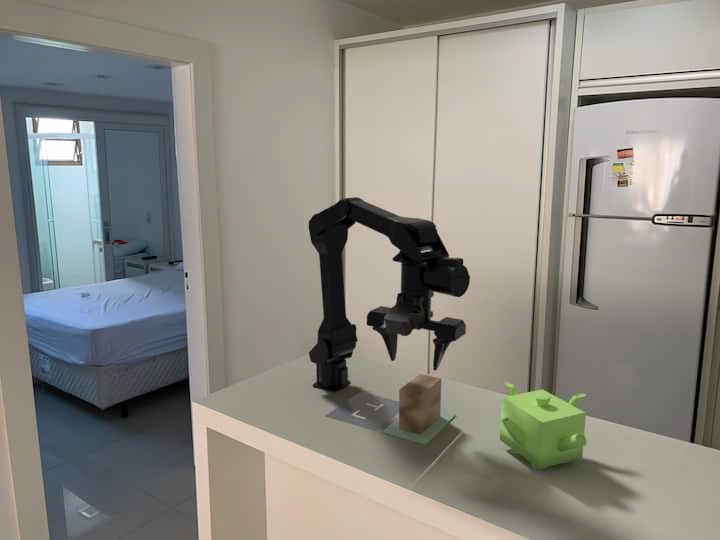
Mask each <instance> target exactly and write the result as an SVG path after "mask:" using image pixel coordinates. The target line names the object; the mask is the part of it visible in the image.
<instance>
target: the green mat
mask: <svg viewBox="0 0 720 540" xmlns="http://www.w3.org/2000/svg"><path fill="white" fill-rule="evenodd" d="M456 415H457V414H456V413H453V412H449V411H445V410H441V411H440V417H439V418H438V419H437V420H436V421H435V422H434V423H433V424H432V425H431V426H430V427H429V428H427V429H426V430H425V431H424V432H423V433H422V434H421V435H420V434H416V433H413V432H409V431H405V430H402V429H399V417H398V418H397V419H396V420H395V421H394V422H392V423H390V425H388V426H387V427H386V428H385V429H384V430H382V434H385V435H388V436H392V437H396V438H398V439H399V438H400V439H403V440H406V441H410V442H412V443H413V442H414V443H416V444H420V445H423V446H426V445H428V444H429V443H430V442H431V441H432V440H433V439H434V438H435V437H436V436H437V435H438V434H439V433H440V432H441V431H442V430H443V429H444V428H445V427H446V426H447V425H448V424H449V423H450V422H451V421H452V420H453V419H454V418H455V417H456Z"/></svg>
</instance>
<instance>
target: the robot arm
mask: <svg viewBox="0 0 720 540" xmlns="http://www.w3.org/2000/svg"><path fill="white" fill-rule="evenodd" d="M356 223H357V224H360V225H361V226H364V227H366V228H369V229H370V230H373V231H375V232H377V233H379V234H380V235H381V234H382V235H384V236H385V237H387V239H389V241H390V244H391V245H393V246H394V247H395V248H396V249H398V250H399V252H398V253H397V254H396V255H395V256H393V257H392V261H393V262H396V263H400V265H401V266H400V292H398V293H397V297H396V302H395V305H393V306H392V307H390V306H389V307H388V306H383V305H381V306H378V307H376V308H374V309H371V310H370V311H368V313H367V315H366V326H368V327H372V330H373V331H376V332H377V333H378V334H380V336H381V338H382V340H383V342H384V344H385V347H386V349H387V353H388V356H389V358H390V361H391V362H394V361H395V360H396V358H397V350H398V336H402V337H407V336H410V335H411V334H412V332H413V330H418V331H420V330H426V331H433V335H434V336H435V338H433V339H432V342H433V344H434V351H433V362H432V367H433V368H432V369H433V370H434V372H435V371H437V370H438V369H439V366H440V365H441V363H442V360H443V358H444V356H445V353H446V351H447V350H448V347H449V346H450V345H451V343H453V342H456V341H457V340H459V339H460V338H461V337H462V338H463V336H464V335H466V334H467V332H466V331H467V325H466V322H465V321H464V319H461V318H460V319H459V318H454V317H450V316H449V317H447V316H445V317H444V318H442V319H440V320H439V321H438V320H432V318H433V317H434V311H433V310H431V302H432V298H433V297H434V296H435V295H434V294H435V293H437V294H442V295H446V296H449V297H455V298H460V297H463V296H464V295H465V294H466V293H467V291H468V289H469V286H470V281H471V275H470V274H469V270H468V268H467V266H465V265H464V258H463V257H451V256H450V254H449V252H448V250H447V248H446V246H445V244H444V242H443V241H442V238H441V237H440V235H439V233H438V230H437V226H436V224H435V223H434V222H433V221H431V220H429V219H424V218H418V217H408V216H407V217H406V216H400V215H398V214H396V213H393V212H391V211H389V210H386V209H384V208H382V207H380V206H377V205H374V204H371V203H369V202H368V201H364V199H362V198H360V197H357V196H355V197H344V198H341V199H340V200H338V201H336V203H334V204H333V205H331V206H329V207H328V208H325V209H323V210H322V211H319V212H318V213H314V214H313V215H312V216H311V219H309V220H308V231H309V232H308V233H309V237H310V243H311V244H312V246H313V247H314V248H315V250H316V252H317V253H318V255H319V256H318V258H319V269H320V283H321V286H320V287H321V297H322V298H321V300H322V310H323V313H322V314H323V318H322V321H321V323H320V325H319V328H318V329H317V340H316V341H317V343H316V344H315V345H314V346H313V347H312V349H310V350H309V352H308V355H309V359H310V362H311V363H313V364H316V365H315V367H316V382H314V383H313V384H312V387H313V388H317V389H319V390H320V389H321V390H324V391H328V392H332V393H337V392H338V391H340V390H342V389H343V388H345V387H347V386H348V385H349V384H351V380H349V370H348V369H349V368H348V366H347V359H351V358H352V357H353V356H352V355H353V352H354V350H355V349H356V348H357V347H356V345H357V342H358V336H357V325H356V324H355V323H351V321H350V320H349V319H348V317H347V313H346V312H347V311H346V310H347V309H346V298H345V297H346V295H345V281H344V269H343V268H344V266H343V252H344V248H345V246H346V245H347V242H348V239H349V238H348V237H349V229H350V228H351V227H353V226H354V225H355V224H356Z"/></svg>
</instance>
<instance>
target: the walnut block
mask: <svg viewBox="0 0 720 540" xmlns="http://www.w3.org/2000/svg"><path fill="white" fill-rule="evenodd" d="M398 392H399V393H398V395H399V397H398V398H399V399H398V401H399V413H398V418H399V429H402V430H405V431H409V432H413V433H416V434H420V435H421V434H422V433H423V432H424V431H425V430H426V429H427V428H429V427H430V426H431V425H432V424H433V423H434V422H435V421H436V420H437V419H438V418H439V417H440V411H442V409H441V407H442V406H441V405H442V402H441V401H442V378H440V377H435V376H432V375H427V374H421V373H420V374H418V375H417V376H416V377H414V378H413V379H412V380H410V381H409V382H407V383H406V384H405V385H403V386H402V387H401V388H400V389H399V391H398Z"/></svg>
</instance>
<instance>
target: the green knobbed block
mask: <svg viewBox="0 0 720 540" xmlns="http://www.w3.org/2000/svg"><path fill="white" fill-rule="evenodd" d="M504 385H505V387H506V388H507V391H508V394H509V395H508V396H505V397H502V398H501V405H500V406H501V407H500V408H501V409H500V431H499V432H500V433H499V441H500V442H502V443H504V444H505V445H506V446H507V447H509V448H510V450H509V451H510V453H511V454H512V455H515V456H521V457H522V458H524V459H526V461H528V462H529V463H530V468H531V469H532V470H535V471H539V472H540V471H544V470H545V469H546V468H550V467H553V466H556V465H560V464H569V463H570V462H572V461H574V460H575V461H576V460H578V459H581V458H583V454H584V447H586V445H587V444H588V442H587V438H586V436H585V427H586V417H587V416H586V412H585V411H583V410H581V409H580V408H578V406H579V404H580V403H581V401H582V400H583V399H584V398H585V397H586V396H587V394H585V393H576V394H575V395H574V396H572V397H571V398H570V400H569V402H567V401H565V400H564V399H561V398H559V397H558V396H556V395H553V394H552V393H550V392H548V391H546V390H544V389H538V390H533V391H528V392H524V393H519V392H518V391H517V389H516V387H515V386H514V384H513V383H511V382H508V381H504Z"/></svg>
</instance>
